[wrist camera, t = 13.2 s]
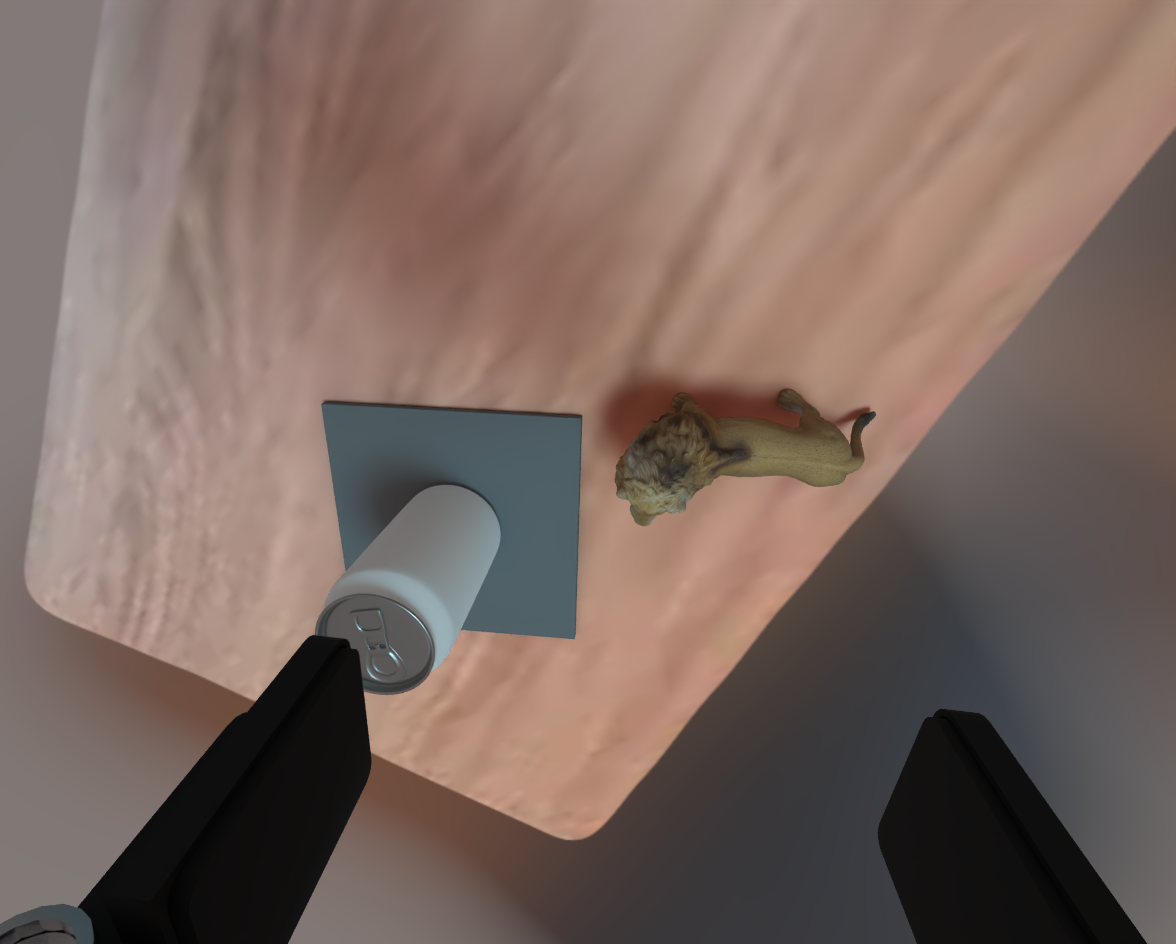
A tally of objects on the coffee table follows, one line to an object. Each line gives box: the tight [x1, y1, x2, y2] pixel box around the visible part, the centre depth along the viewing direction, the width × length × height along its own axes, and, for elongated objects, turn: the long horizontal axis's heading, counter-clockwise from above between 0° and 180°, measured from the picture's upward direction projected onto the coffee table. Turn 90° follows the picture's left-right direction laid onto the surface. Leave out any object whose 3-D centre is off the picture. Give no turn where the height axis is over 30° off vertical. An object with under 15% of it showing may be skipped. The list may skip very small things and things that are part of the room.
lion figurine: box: [615, 389, 876, 526], centre depth 29 cm, size 15×5×9 cm, turn 99°
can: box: [315, 485, 501, 695], centre depth 31 cm, size 6×6×12 cm
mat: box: [321, 402, 582, 639], centre depth 37 cm, size 16×16×1 cm
